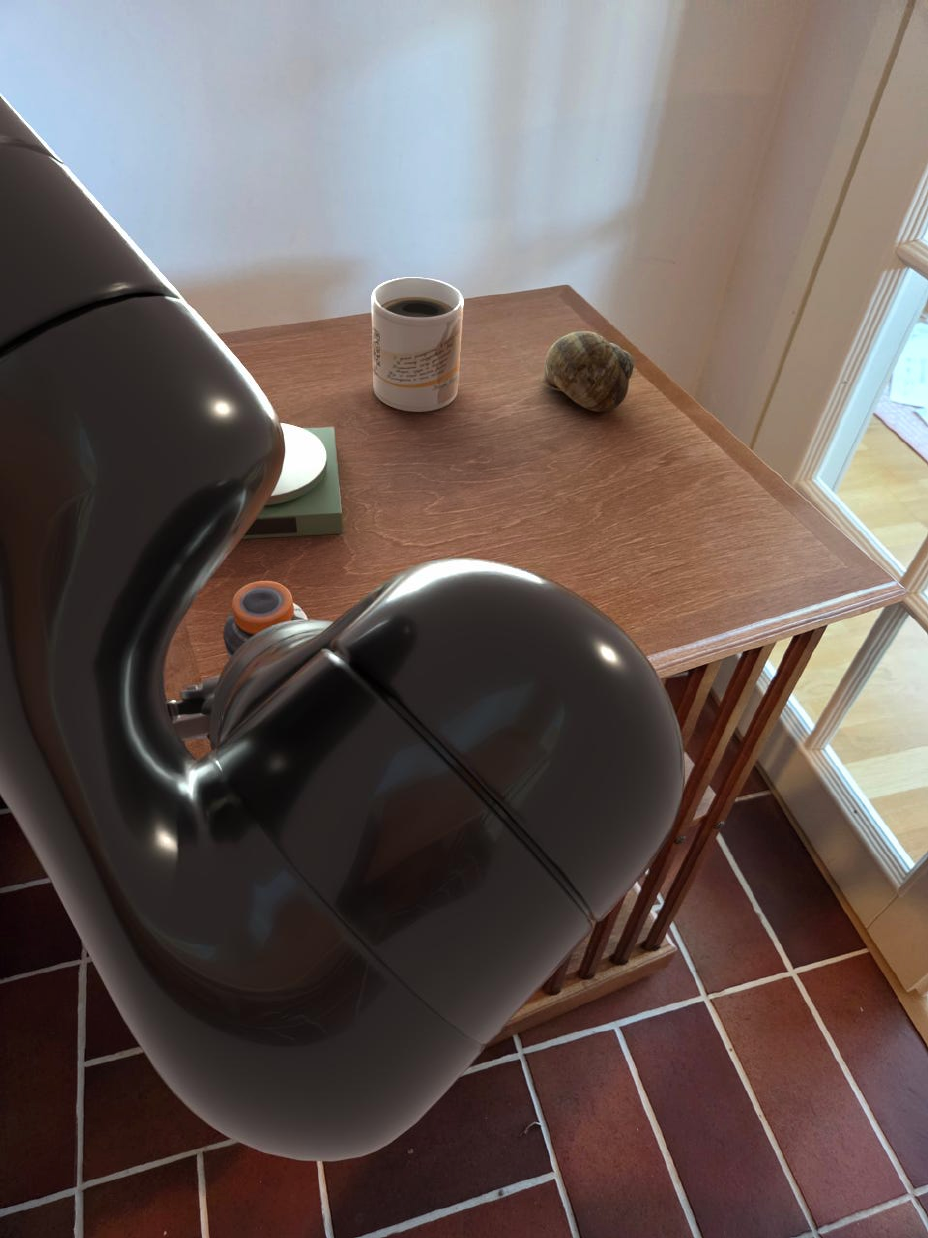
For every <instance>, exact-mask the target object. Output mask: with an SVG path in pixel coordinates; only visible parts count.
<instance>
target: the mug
mask: <svg viewBox="0 0 928 1238" xmlns="http://www.w3.org/2000/svg"><path fill="white" fill-rule="evenodd" d="M463 317H464V297H463V295H462V293H461V292H460V291H459V290H458V289H457V288H455V287H454V286H452V285H450V284H449V283H446V282H444V281H441V280H437V279H432V278H427V277H401V278H395V279H392V280H388V281H385V282H383V283H381V284H379V285H378V286H377V287H375V289H374V290H373V292H372V294H371V337H372V338H371V339H372V341H371V342H372V345H371V346H372V389H373V393H374V394H375V396H376V397H377V398H378V400H379V401H380V402H382V403H383V404H385V405H387V406H389V407H390V408H391V407H392V408H393V409H396V410H399V411H400V410H401V411H405V412H411V413H423V412H425V413H426V412H432V411H437V410H439V409H442V408H444V407H447V406H448V405H450V404H451V403H452V402H454V400H455V399H456V397H457V395H458V392H459V382H460V381H459V380H460V367H461V365H460V363H461V351H462V350H461V348H462V335H463V334H462V332H463Z"/></svg>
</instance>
